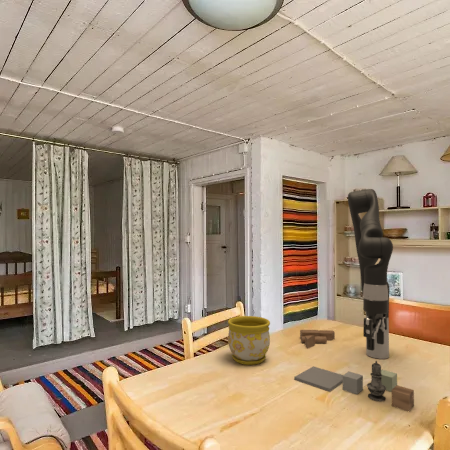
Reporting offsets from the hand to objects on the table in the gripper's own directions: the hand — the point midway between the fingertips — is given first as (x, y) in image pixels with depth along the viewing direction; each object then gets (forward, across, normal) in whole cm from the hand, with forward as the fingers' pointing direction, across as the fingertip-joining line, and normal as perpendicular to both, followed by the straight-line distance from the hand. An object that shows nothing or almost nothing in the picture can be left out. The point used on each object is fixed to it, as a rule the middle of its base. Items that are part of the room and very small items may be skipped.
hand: (375, 346), depth 114 cm
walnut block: (+17, 0, +8) cm, 18 cm away
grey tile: (+16, 0, -20) cm, 26 cm away
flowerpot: (+17, +3, -52) cm, 55 cm away
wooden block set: (+17, -38, -41) cm, 58 cm away
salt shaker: (+17, 0, 0) cm, 17 cm away
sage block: (+17, -10, 0) cm, 19 cm away
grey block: (+17, 0, -8) cm, 18 cm away
